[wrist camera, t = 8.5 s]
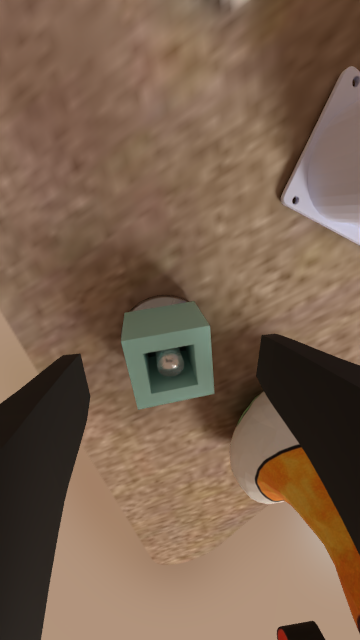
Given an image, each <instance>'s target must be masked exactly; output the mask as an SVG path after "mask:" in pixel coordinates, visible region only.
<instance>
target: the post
mask: <svg viewBox="0 0 360 640" xmlns="http://www.w3.org/2000/svg"><path fill="white" fill-rule="evenodd" d="M186 302H188V301H186V300H184V299H182V298H179V297H176V296H170V295H161V296H155V297H151V298H148V299H146V300H144V301H142V302H140V303H139V304H137V305H136V306H135V307H134V308H133V309H132V310H131V311H130V312H132V311H138V310H144V309H150V308H156V307H162V306H168V305H174V304H180V303H186ZM122 329H123V326H122ZM121 337H122V331H121ZM181 351H186V347H185V346H182V347H177V348H171V349H166V350H160V351H155V352H150V353H148V357H153V356H156V360H157V367H158V371H159V372H160V373H161V374H162V375H163V376H166V377H173V376H176V375H178V374H179V373H180V372H181V371H182V370H183V368H184V361H183V358H182V355H181Z"/></svg>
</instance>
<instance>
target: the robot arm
mask: <svg viewBox="0 0 360 640" xmlns="http://www.w3.org/2000/svg"><path fill="white" fill-rule="evenodd" d="M353 80H354V81H355V86H354V87H353V85H352V81H353ZM294 197H295V198H296V202H295V203H294V204H293V203H292V200H293V198H294ZM281 202H282V204H283V205H285V206H287V207H289V208H291V209H292V210H294V211H296V212H298V213H300V214H302V215H304V216H305V217H307V218H309V219H311V220H313V221H315V222H317V223H319V224H320V225H322V226H324V227H326V228H328V229H330V230H332V231H333V232H335V233H337V234H339V235H341V236H343V237H345V238H347V239H348V240H350V241H352V242H354V243H356V244H358V245H360V71H359V70H358V69H356V68H355V67H353V66H350V67H348V68H347V69H345V70H344V71H343V72H342V73H341V74H340V76H339V78H338V80H337V82H336V84H335V87H334V89H333V91H332V93H331V95H330V97H329V99H328V101H327V103H326V105H325V107H324V109H323V111H322V113H321V115H320V117H319V119H318V121H317V123H316V125H315V128H314V130H313V132H312V134H311V136H310V138H309V140H308V142H307V144H306V146H305V148H304V150H303V152H302V154H301V156H300V158H299V160H298V162H297V164H296V166H295V169H294V171H293V173H292V175H291V177H290V179H289V181H288V183H287V185H286V187H285V189H284V191H283V193H282V196H281ZM256 376H257V378H258V380H259V382H260V384H261V387H262V388H263V390H264V392H265V394H266V396H267V398H268V399H269V401H270V402H271V404H272V405H273V407H274V408H275V410H276V411H277V412H278V414H279V415H280V417H281V418H282V420H283V421H284V423H285V424H286V425H287V427H288V428H289V430H290V431H291V433H292V434H293V435H294V437H295V438H296V440H297V441H298V443H299V444H300V446H301V447H302V449H303V450H304V452H305V453H306V455H307V457H308V458H309V460H310V462H311V464H312V465H313V467H314V469H315V471H316V472H317V474H318V476H319V478H320V479H321V481H322V483H323V485H324V487H325V489H326V490H327V492H328V494H329V496H330V498H331V500H332V502H333V504H334V506H335V507H336V509H337V511H338V513H339V515H340V517H341V519H342V521H343V523H344V525H345V527H346V529H347V531H348V533H349V535H350V537H351V539H352V541H353V543H354V545H355V547H356V549H357V551H358V553H359V555H360V366H359V365H357V364H354V363H351V362H348V361H346V360H343V359H340V358H338V357H335V356H332V355H330V354H327V353H325V352H322V351H320V350H317V349H315V348H312V347H310V346H307V345H305V344H303V343H300V342H298V341H295V340H292V339H290V338H287V337H284V336H281V335H278V334H269V335H262V336H261V344H260V351H259V359H258V366H257V374H256ZM89 402H90V393H89V389H88V384H87V380H86V376H85V371H84V367H83V363H82V359H81V354H72V355H63V356H62V357H60V358H59V359H57V360H56V361H55V362H53V363H52V364H51V365H50V366H48V367H47V368H46V369H45V370H43V371H42V372H41V373H40V374H39V375H37V376H36V377H35V378H33V379H32V380H31V381H30V382H29V383H27V384H26V385H25V386H23V387H22V388H21V389H20V390H18V391H17V392H16V393H15V394H13V395H12V396H10V397H9V398H7V399H6V400H5V401H3V402H2V403H1V404H0V640H41V635H42V628H43V622H44V615H45V609H46V603H47V596H48V589H49V584H50V577H51V572H52V566H53V561H54V554H55V549H56V543H57V538H58V532H59V527H60V522H61V517H62V511H63V506H64V501H65V497H66V493H67V488H68V485H69V481H70V478H71V474H72V471H73V467H74V464H75V460H76V457H77V454H78V450H79V446H80V443H81V440H82V436H83V433H84V429H85V425H86V422H87V416H88V409H89Z"/></svg>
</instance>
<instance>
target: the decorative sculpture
mask: <svg viewBox="0 0 360 640" xmlns="http://www.w3.org/2000/svg"><path fill="white" fill-rule="evenodd" d="M230 463H231V468H232V472H233V474H234V476H235V478H236V480H237V481H238V483H239V485H240V487H241V488H242V489H243V490H244V491H245V492H246V493H247V494H248V495H249V496H250V497H251V498H252V499H253V500H255V501H257V502H261V503H266V504H273V503H279V502H283V501H286V502H287V503H289V504H290V505H291V506H292V507H293V508H294V509H295V510H296V511H297V512H298V513H299V514H300V516H301V517H302V518H303V519H304V520H305V522H306V523H307V524H308V525H309V527H310V528H311V529H312V530H313V532H314V533H315V534H316V535H317V536H318V538H319V539H320V540H321V541H322V543H323V544H324V545H325V547H326V549H327V551H328V553H329V555H330V557H331V559H332V561H333V563H334V564H335V567H336V570H337V573H338V576H339V579H340V582H341V585H342V588H343V591H344V593H345V596H346V599H347V602H348V604H349V607H350V610H351V613H352V615H353V618H354V621H355V623H356V625H357V628H358V630H359V633H360V555H359V553H358V551H357V549H356V547H355V545H354V543H353V541H352V539H351V537H350V535H349V533H348V531H347V529H346V527H345V525H344V523H343V521H342V519H341V517H340V515H339V513H338V511H337V509H336V507H335V506H334V504H333V502H332V500H331V498H330V496H329V494H328V492H327V490H326V489H325V487H324V485H323V483H322V481H321V479H320V478H319V476H318V474H317V472H316V471H315V469H314V467H313V465H312V464H311V462H310V460H309V458H308V457H307V455H306V453H305V452H304V450H303V449H302V447H301V446H300V444H299V443H298V441H297V440H296V438H295V437H294V435H293V434H292V433H291V431H290V430H289V428H288V427H287V425H286V424H285V423H284V421H283V420H282V418H281V417H280V415H279V414H278V412H277V411H276V410H275V408H274V407H273V405H272V404H271V402H270V401H269V399H268V398H267V396H266V394H265V392H262V393H261V394H259V395H258V396H257V397H256V398H255V399H254V400H253V401H252V402H251V404H250V405H249V406H248V408H247V409H246V410H245V411H244V413H243V414H242V416H241V418H240V419H239V421H238V423H237V426H236V428H235V431H234V433H233V437H232V440H231V443H230ZM277 639H278V640H325V638H324V637H323V635H322V633H321V631H320V629H319V628H318V626H317V624H316V623H315V622H314V621H309V622H303V623H298V624H292V625H287V626H281V627H279V628H278V630H277Z"/></svg>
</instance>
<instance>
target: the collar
mask: <svg viewBox="0 0 360 640" xmlns="http://www.w3.org/2000/svg"><path fill="white" fill-rule="evenodd" d="M121 344H122V348H123V352H124V356H125V360H126V364H127V368H128V372H129V376H130V380H131V384H132V388H133V392H134V396H135V399H136V403H137V407H138V410H139V409H144V408H148V407H153V406H158V405H163V404H168V403H172V402H177V401H182V400H187V399H192V398H196V397H201V396H206V395H211V394H214V379H213V364H212V349H211V334H210V325H209V323H208V322H207V320H206V319H205V317H204V316H203V314H202V313H201V311H200V310H199V308H198V307H197V305H196V303H195V302H194V301H192V302H186V303H180V304H174V305H168V306H162V307H156V308H150V309H144V310H138V311H132V312H126V313H124V321H123V329H122V337H121ZM182 346H185V347H186V351H181V355H182V358H183V361H184V368H183V370H182V371H181V372H180V373H179V374H178V375H176V376H173V377H166V376H163V375H162V374H161V373H160V372H159V371H158V367H157V360H156V356H153V357H148V353H150V352H155V351H160V350H166V349H171V348H177V347H182Z"/></svg>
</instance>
